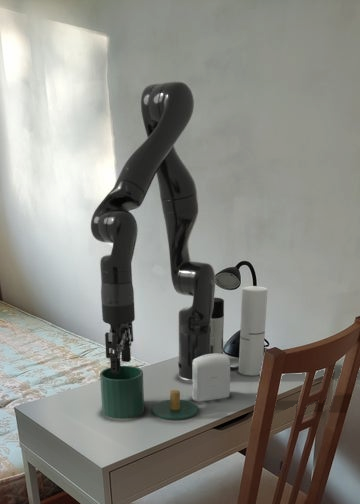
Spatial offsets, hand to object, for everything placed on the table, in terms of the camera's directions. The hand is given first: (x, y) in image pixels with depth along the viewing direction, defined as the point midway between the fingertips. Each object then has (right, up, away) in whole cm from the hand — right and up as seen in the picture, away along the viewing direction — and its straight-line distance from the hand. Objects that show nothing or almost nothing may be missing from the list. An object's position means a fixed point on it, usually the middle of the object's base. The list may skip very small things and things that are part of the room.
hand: (121, 367), depth 129 cm
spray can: (+24, +4, +40) cm, 47 cm away
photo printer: (+22, -8, +12) cm, 27 cm away
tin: (0, -11, +5) cm, 12 cm away
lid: (+13, -11, +4) cm, 17 cm away
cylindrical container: (+36, +1, +32) cm, 48 cm away
